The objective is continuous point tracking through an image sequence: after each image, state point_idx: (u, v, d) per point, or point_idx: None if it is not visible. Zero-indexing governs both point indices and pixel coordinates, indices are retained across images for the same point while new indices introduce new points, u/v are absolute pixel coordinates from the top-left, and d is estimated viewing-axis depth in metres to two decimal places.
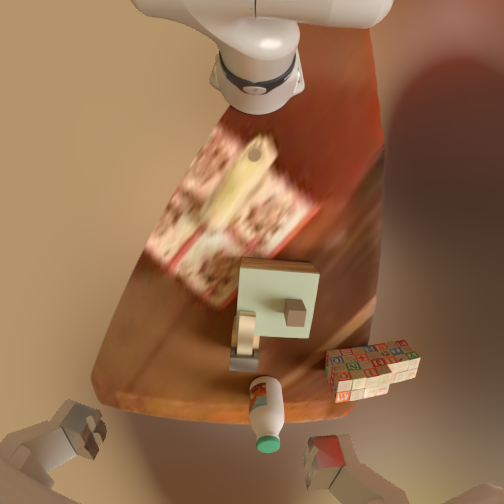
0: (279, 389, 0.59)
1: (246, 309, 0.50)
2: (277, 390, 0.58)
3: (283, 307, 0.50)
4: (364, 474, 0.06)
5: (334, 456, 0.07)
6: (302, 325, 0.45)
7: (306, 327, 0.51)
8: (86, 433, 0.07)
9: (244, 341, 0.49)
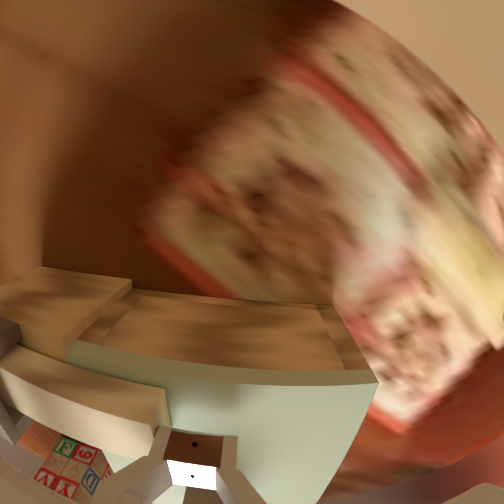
0: None
1: (182, 407, 0.10)
2: None
3: None
4: (235, 481, 0.06)
5: (210, 455, 0.07)
6: None
7: (156, 500, 0.12)
8: None
9: (42, 406, 0.08)
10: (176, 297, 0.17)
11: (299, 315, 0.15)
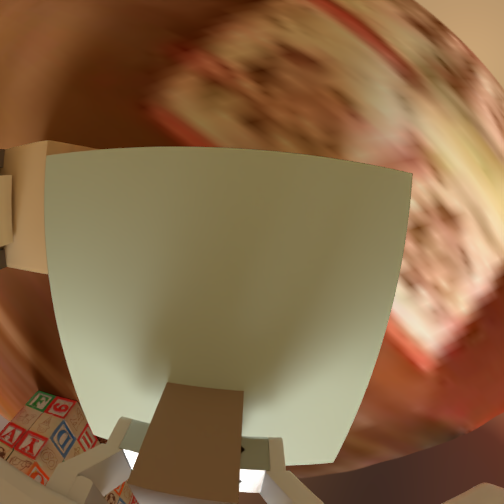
0: None
1: (169, 202, 0.08)
2: None
3: (197, 383, 0.10)
4: (287, 482, 0.06)
5: (259, 459, 0.07)
6: None
7: None
8: None
9: None
10: None
11: None
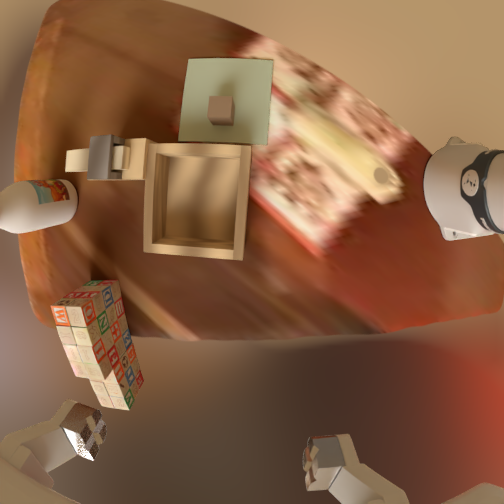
0: (60, 220, 0.37)
1: (221, 67, 0.35)
2: (59, 217, 0.36)
3: None
4: (364, 474, 0.06)
5: (334, 456, 0.07)
6: (209, 114, 0.32)
7: (193, 136, 0.38)
8: (86, 433, 0.07)
9: (87, 157, 0.29)
10: None
11: None
